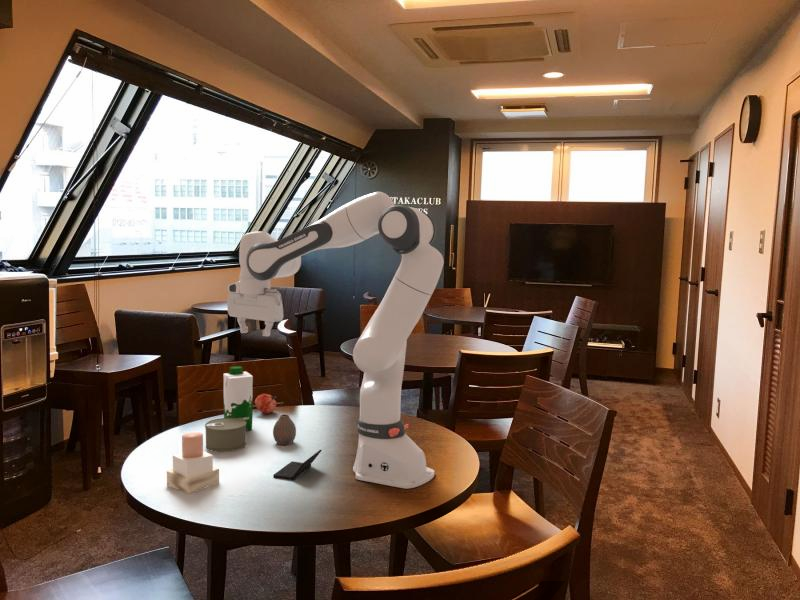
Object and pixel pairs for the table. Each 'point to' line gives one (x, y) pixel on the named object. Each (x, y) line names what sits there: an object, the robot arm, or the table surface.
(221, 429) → the can
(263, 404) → the pomegranate
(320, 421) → the table surface
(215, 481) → the tower base
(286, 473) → the handheld gaming console
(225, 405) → the milk carton
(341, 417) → the table surface
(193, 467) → the tower middle
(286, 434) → the vase
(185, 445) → the peach rounded dome
